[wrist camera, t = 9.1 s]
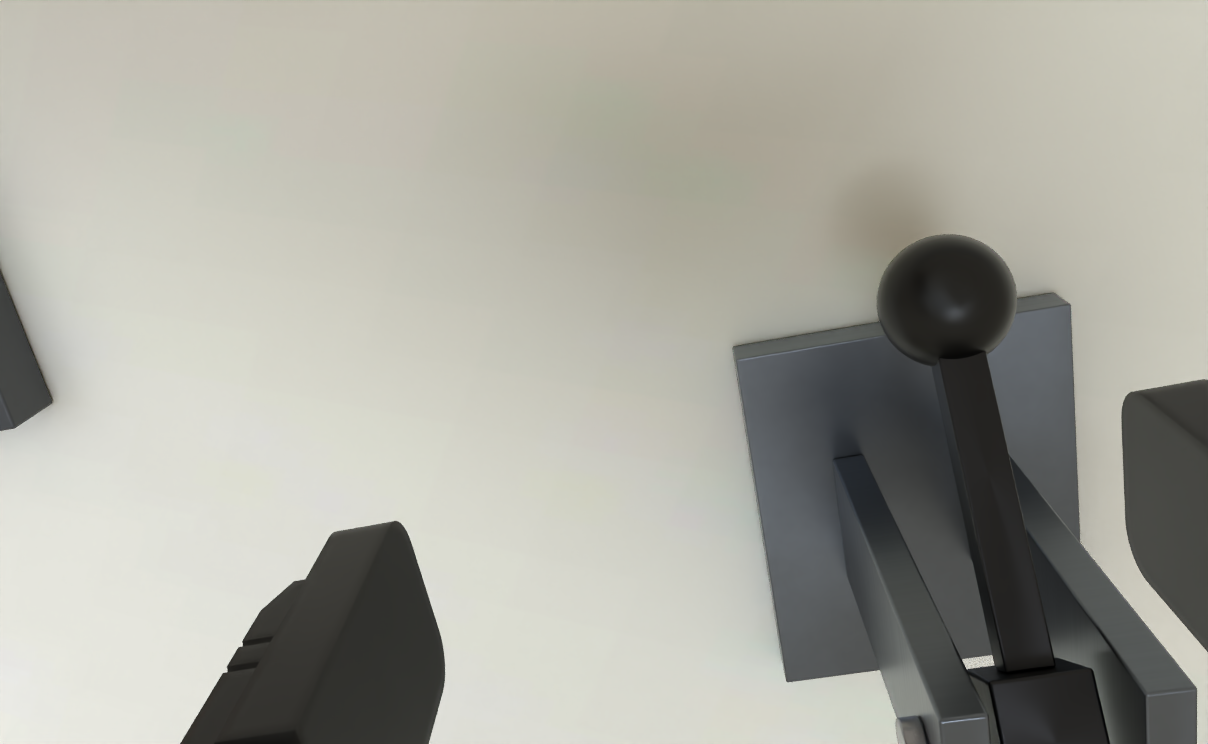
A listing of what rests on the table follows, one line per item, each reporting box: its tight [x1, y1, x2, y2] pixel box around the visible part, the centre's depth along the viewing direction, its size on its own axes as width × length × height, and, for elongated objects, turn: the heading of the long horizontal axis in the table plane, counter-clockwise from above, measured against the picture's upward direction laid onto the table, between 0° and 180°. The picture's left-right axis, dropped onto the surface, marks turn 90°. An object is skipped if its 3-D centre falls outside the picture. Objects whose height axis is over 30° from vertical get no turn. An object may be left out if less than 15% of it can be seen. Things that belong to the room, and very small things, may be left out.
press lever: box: [877, 234, 1110, 744], centre depth 23 cm, size 13×3×3 cm
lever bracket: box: [733, 293, 1197, 744], centre depth 27 cm, size 12×10×14 cm
